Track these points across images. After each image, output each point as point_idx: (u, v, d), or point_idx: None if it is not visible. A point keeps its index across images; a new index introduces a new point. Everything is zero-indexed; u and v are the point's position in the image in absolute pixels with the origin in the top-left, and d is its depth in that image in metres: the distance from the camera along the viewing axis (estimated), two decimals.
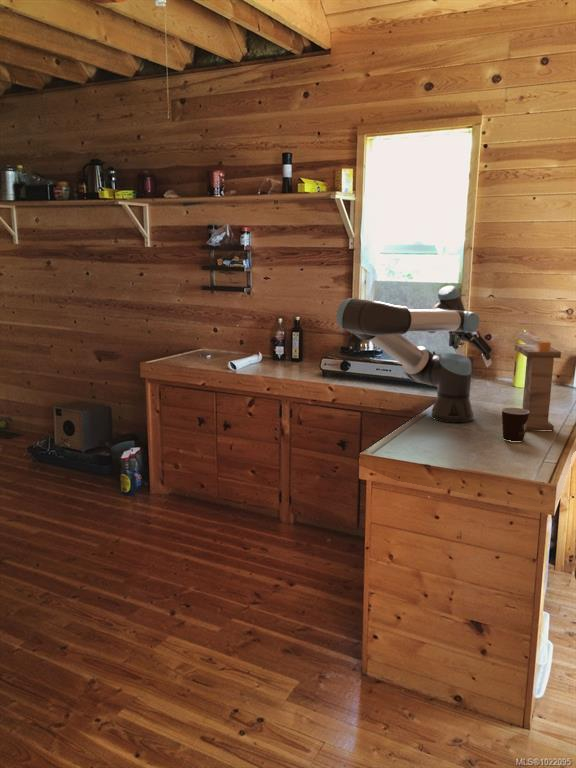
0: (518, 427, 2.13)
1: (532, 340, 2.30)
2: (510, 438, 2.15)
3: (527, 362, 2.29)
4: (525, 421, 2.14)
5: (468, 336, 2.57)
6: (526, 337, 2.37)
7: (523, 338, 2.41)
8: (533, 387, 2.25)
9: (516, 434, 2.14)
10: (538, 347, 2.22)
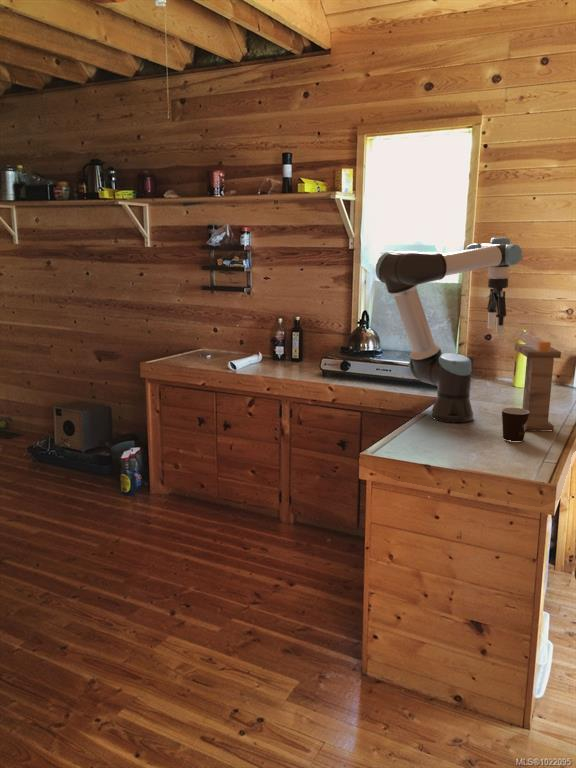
0: (518, 427, 2.13)
1: (532, 340, 2.30)
2: (510, 438, 2.15)
3: (527, 362, 2.29)
4: (525, 421, 2.14)
5: (496, 294, 2.57)
6: (526, 337, 2.37)
7: (523, 338, 2.41)
8: (533, 387, 2.25)
9: (516, 434, 2.14)
10: (538, 347, 2.22)
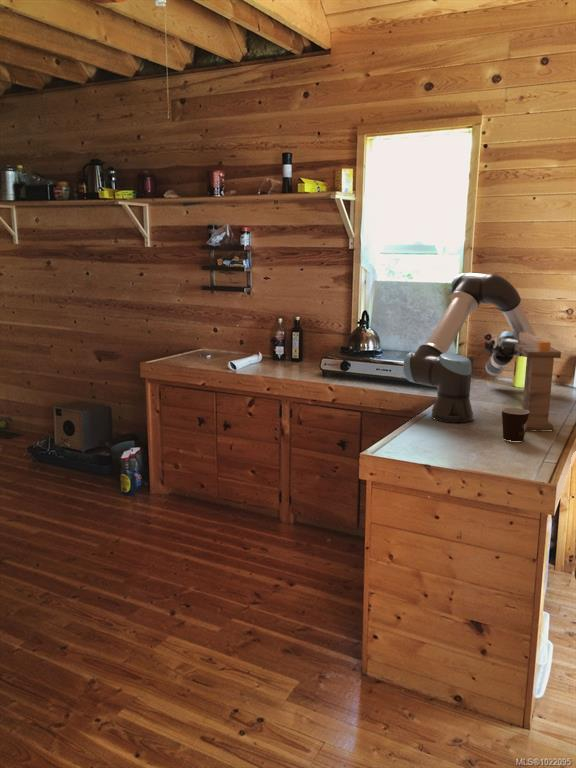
0: (518, 427, 2.13)
1: (532, 340, 2.30)
2: (510, 438, 2.15)
3: (527, 362, 2.29)
4: (525, 421, 2.14)
5: None
6: (526, 337, 2.37)
7: (523, 338, 2.41)
8: (533, 387, 2.25)
9: (516, 434, 2.14)
10: (538, 347, 2.22)
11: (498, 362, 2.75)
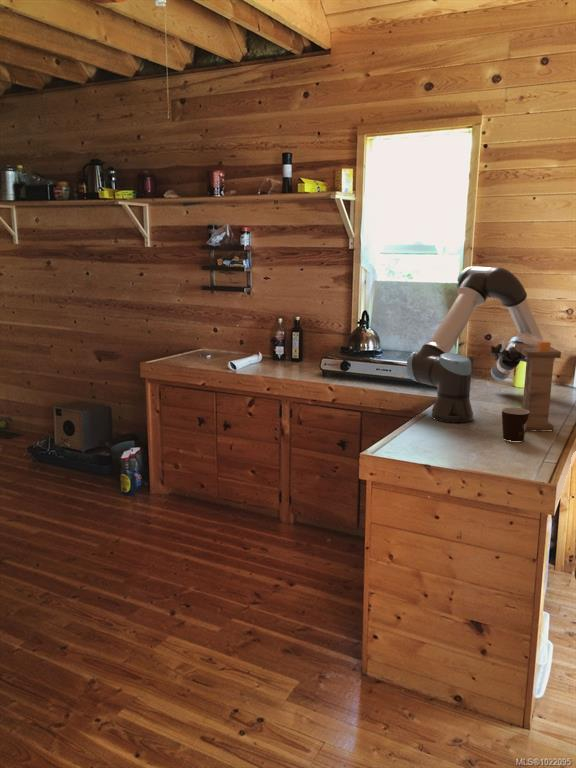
0: (518, 427, 2.13)
1: (532, 340, 2.30)
2: (510, 438, 2.15)
3: (527, 362, 2.29)
4: (525, 421, 2.14)
5: None
6: (526, 337, 2.37)
7: (523, 338, 2.41)
8: (533, 387, 2.25)
9: (516, 434, 2.14)
10: (538, 347, 2.22)
11: (504, 367, 2.66)
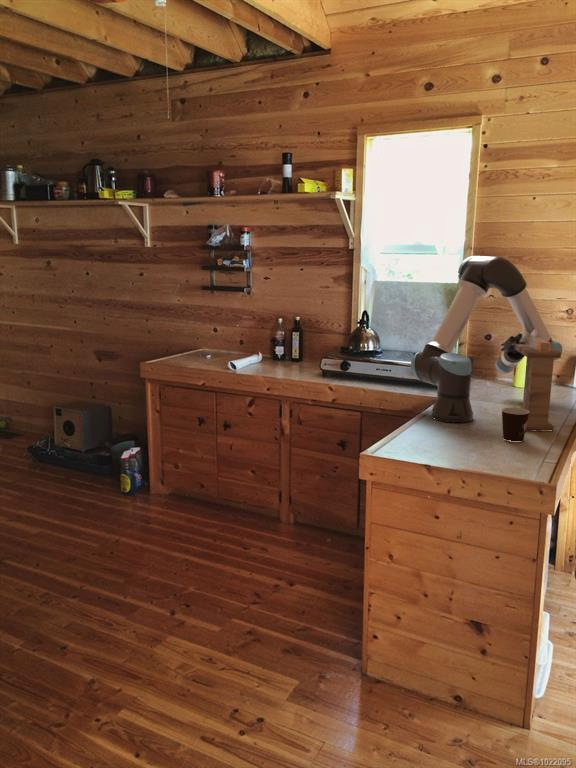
0: (518, 427, 2.13)
1: (532, 340, 2.30)
2: (510, 438, 2.15)
3: (527, 362, 2.29)
4: (525, 421, 2.14)
5: None
6: (526, 337, 2.37)
7: None
8: (533, 387, 2.25)
9: (516, 434, 2.14)
10: (538, 347, 2.22)
11: (509, 359, 2.57)
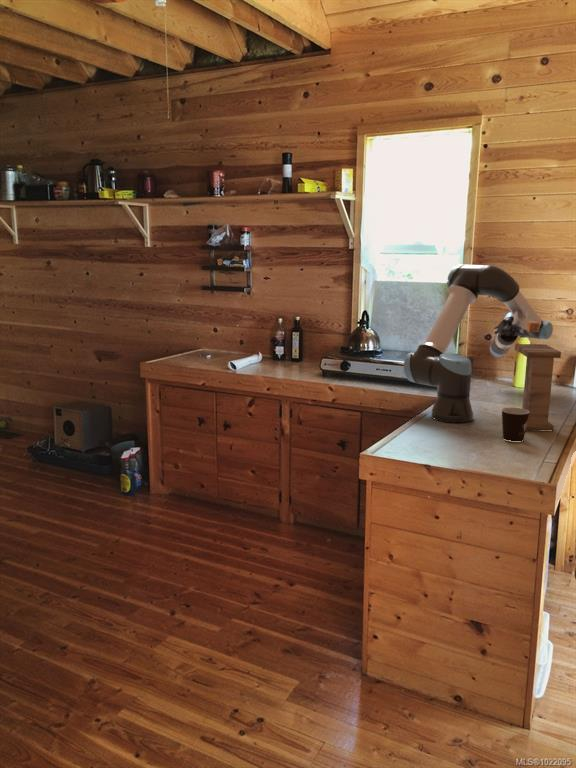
0: (518, 427, 2.13)
1: (523, 321, 2.45)
2: (510, 438, 2.15)
3: (527, 362, 2.29)
4: (525, 421, 2.14)
5: None
6: (517, 319, 2.52)
7: None
8: (533, 387, 2.25)
9: (516, 434, 2.14)
10: (528, 327, 2.37)
11: (503, 342, 2.72)
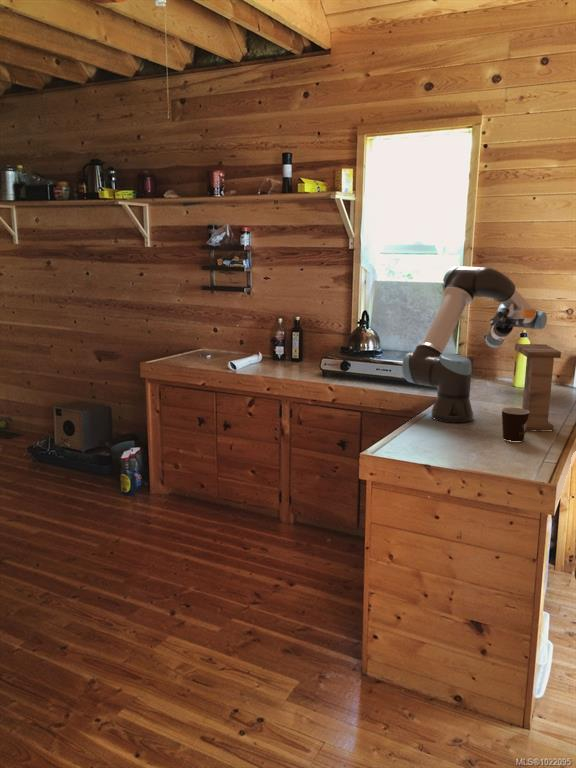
0: (518, 427, 2.13)
1: (518, 311, 2.48)
2: (510, 438, 2.15)
3: (527, 362, 2.29)
4: (525, 421, 2.14)
5: None
6: (513, 312, 2.56)
7: (511, 314, 2.59)
8: (533, 387, 2.25)
9: (516, 434, 2.14)
10: (524, 314, 2.40)
11: (498, 333, 2.76)
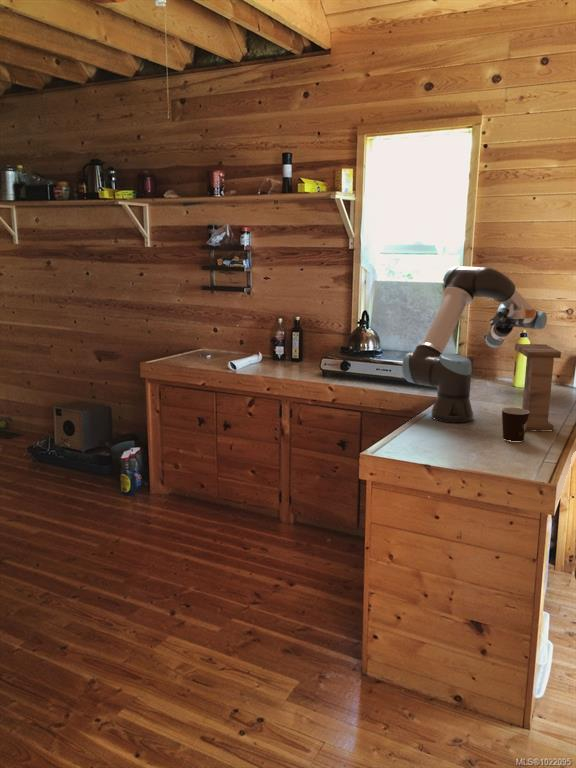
0: (518, 427, 2.13)
1: (518, 311, 2.48)
2: (510, 438, 2.15)
3: (527, 362, 2.29)
4: (525, 421, 2.14)
5: None
6: (513, 312, 2.56)
7: (511, 314, 2.59)
8: (533, 387, 2.25)
9: (516, 434, 2.14)
10: (524, 314, 2.40)
11: (498, 333, 2.76)
